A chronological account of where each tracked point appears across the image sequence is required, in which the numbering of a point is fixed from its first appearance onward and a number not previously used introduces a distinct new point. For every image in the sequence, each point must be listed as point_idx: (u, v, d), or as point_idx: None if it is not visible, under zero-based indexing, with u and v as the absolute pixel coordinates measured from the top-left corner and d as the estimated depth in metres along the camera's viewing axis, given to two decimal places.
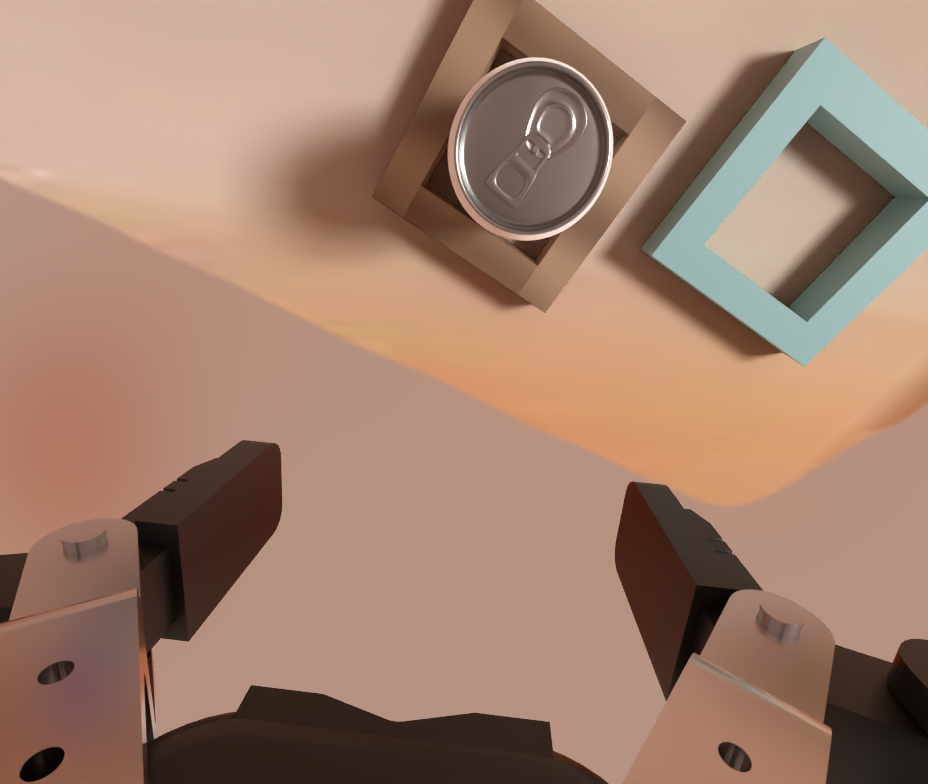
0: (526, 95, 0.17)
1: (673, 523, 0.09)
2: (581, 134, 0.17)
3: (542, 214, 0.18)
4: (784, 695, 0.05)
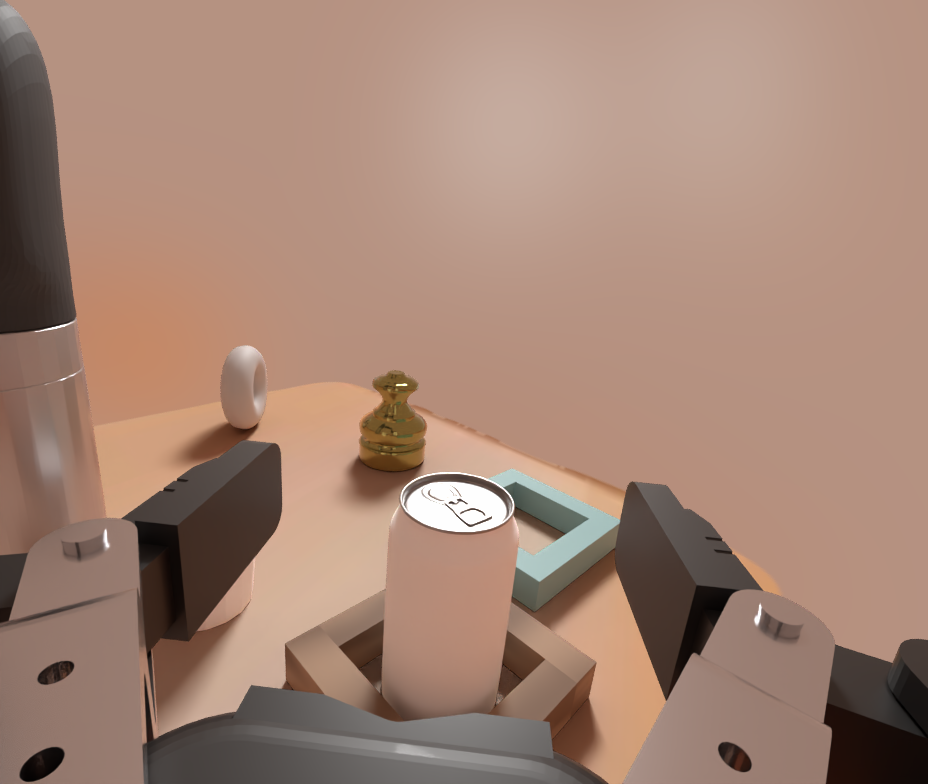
0: (418, 500, 0.24)
1: (673, 523, 0.09)
2: (452, 485, 0.25)
3: (500, 506, 0.24)
4: (784, 695, 0.05)
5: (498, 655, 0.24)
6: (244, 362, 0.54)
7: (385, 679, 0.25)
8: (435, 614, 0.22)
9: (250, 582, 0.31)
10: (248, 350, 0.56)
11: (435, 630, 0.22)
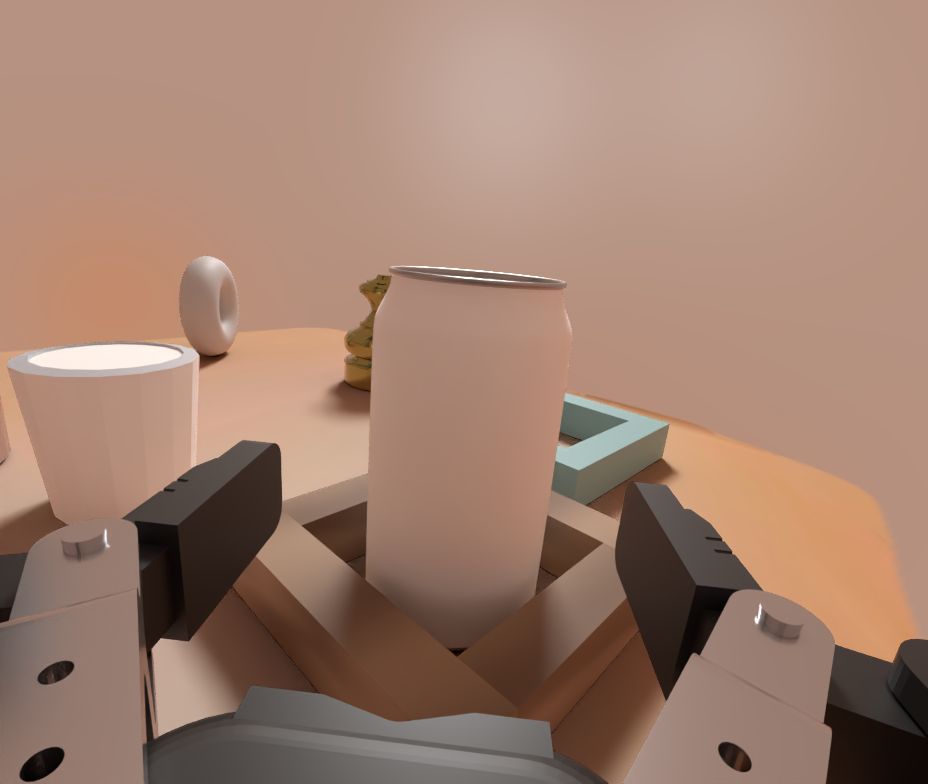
0: None
1: (673, 523, 0.09)
2: None
3: None
4: (784, 694, 0.05)
5: (541, 519, 0.16)
6: (208, 270, 0.46)
7: (370, 564, 0.17)
8: (447, 427, 0.13)
9: (188, 470, 0.23)
10: (213, 260, 0.47)
11: (448, 455, 0.14)
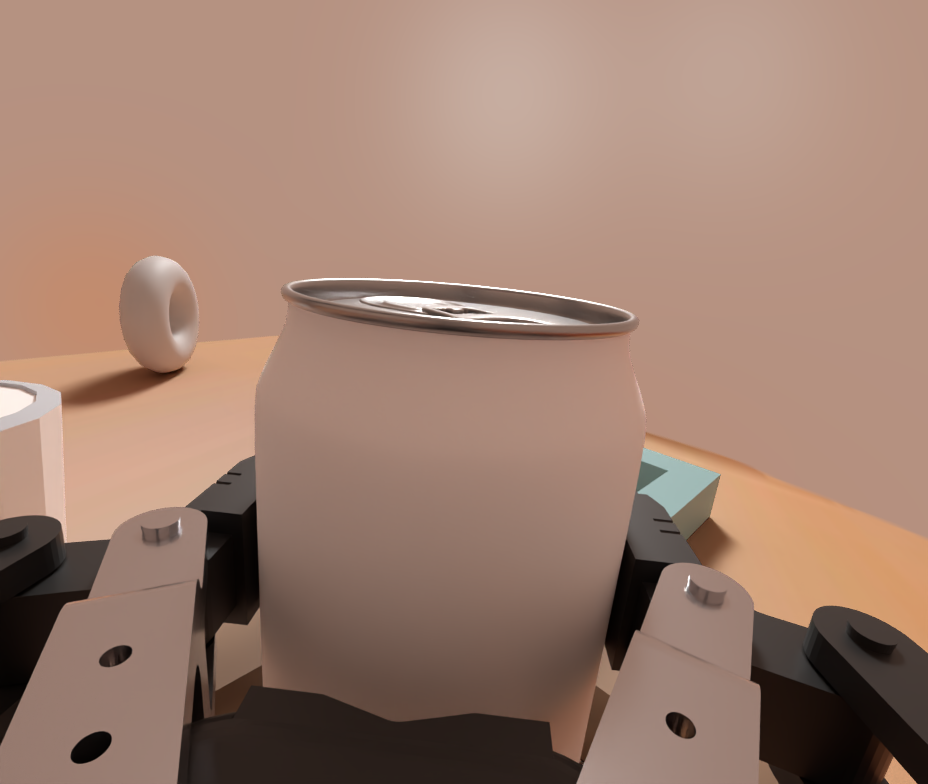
0: None
1: None
2: (448, 302, 0.10)
3: None
4: (695, 650, 0.06)
5: (579, 753, 0.09)
6: (154, 273, 0.38)
7: None
8: (387, 643, 0.06)
9: None
10: (163, 260, 0.40)
11: (391, 697, 0.06)
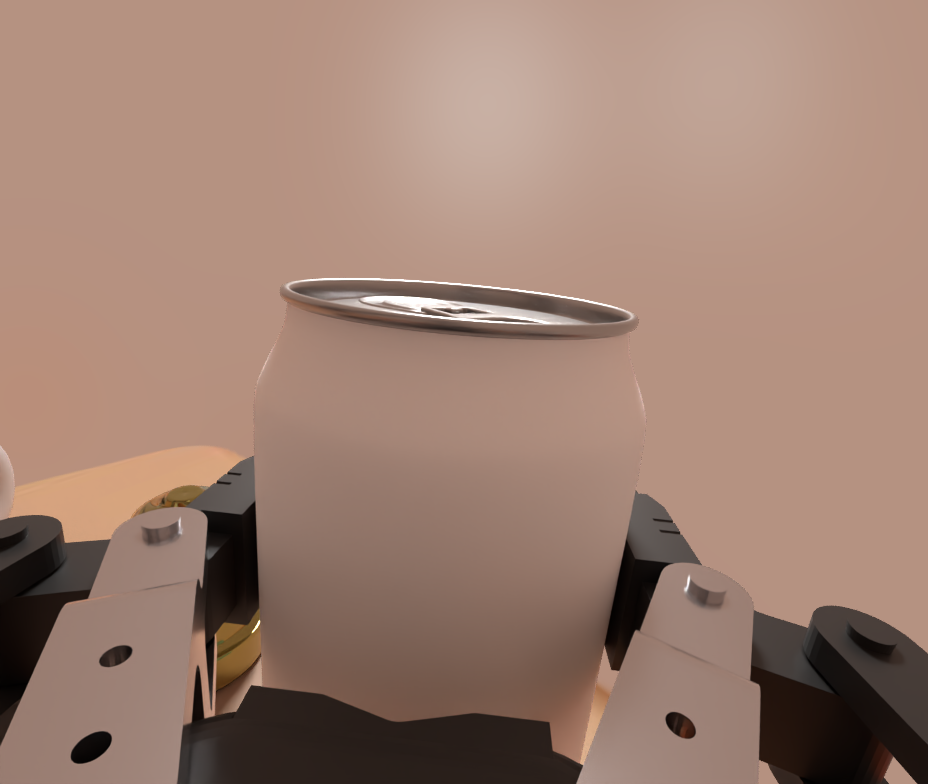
0: (348, 305, 0.08)
1: None
2: (447, 301, 0.10)
3: None
4: (694, 650, 0.06)
5: (579, 753, 0.09)
6: None
7: None
8: (387, 644, 0.06)
9: None
10: None
11: (390, 698, 0.06)
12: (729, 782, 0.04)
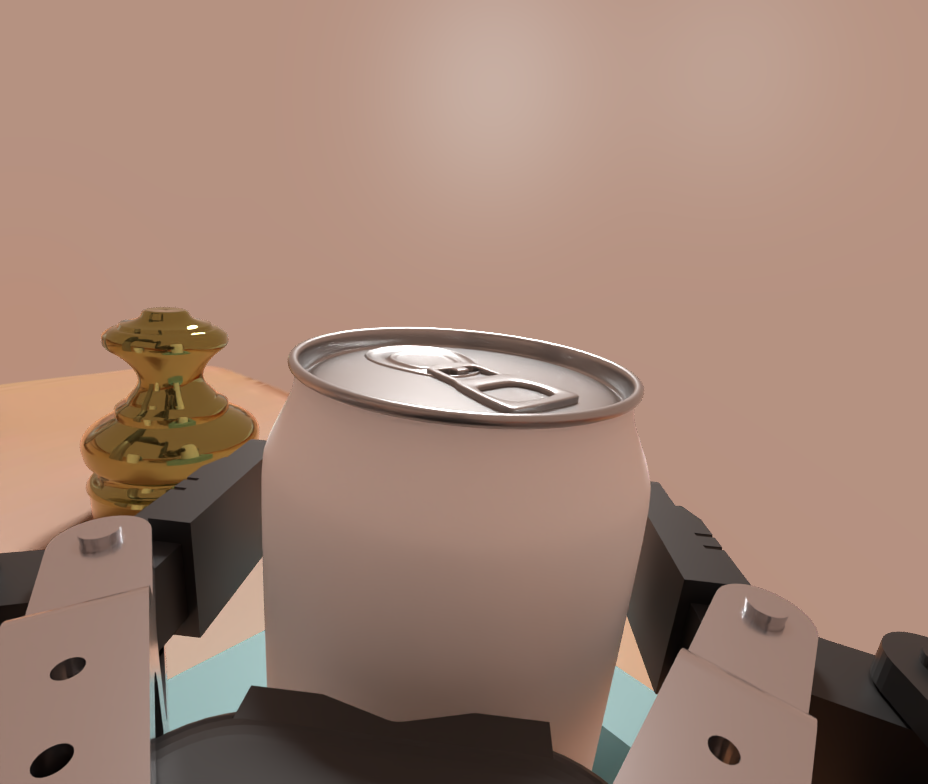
0: (355, 366, 0.08)
1: (663, 519, 0.09)
2: (453, 350, 0.10)
3: (589, 385, 0.08)
4: (766, 685, 0.05)
5: None
6: None
7: None
8: None
9: None
10: None
11: None
12: None
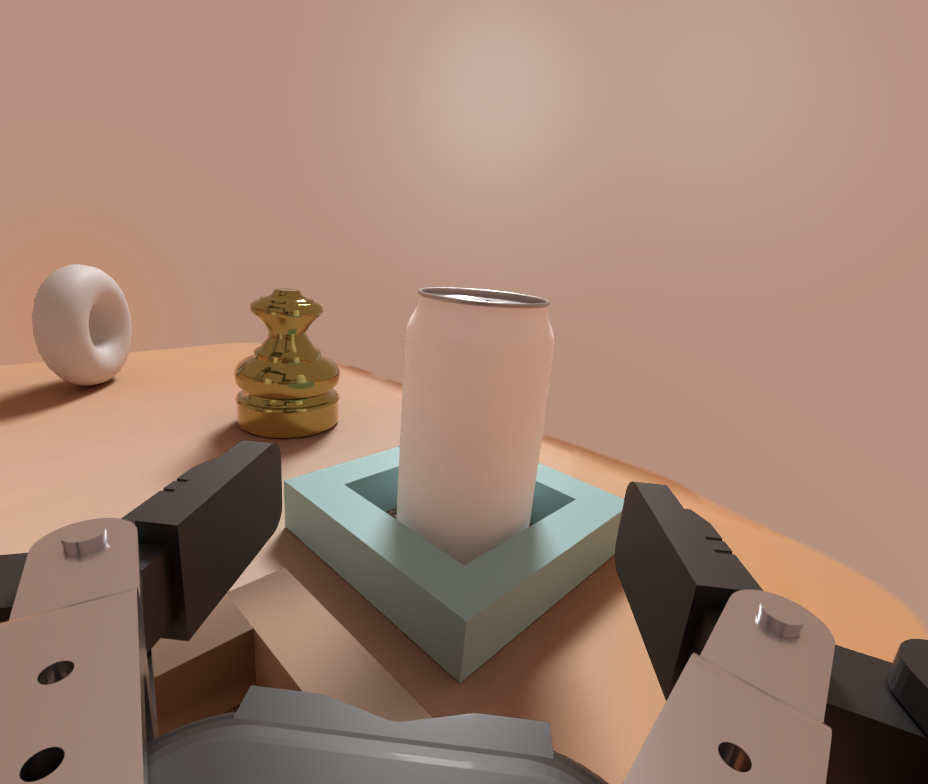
0: None
1: (673, 523, 0.09)
2: (476, 297, 0.22)
3: None
4: (783, 695, 0.05)
5: (531, 479, 0.21)
6: (71, 283, 0.37)
7: (401, 514, 0.22)
8: (461, 407, 0.19)
9: None
10: (84, 269, 0.38)
11: (462, 428, 0.19)
12: None
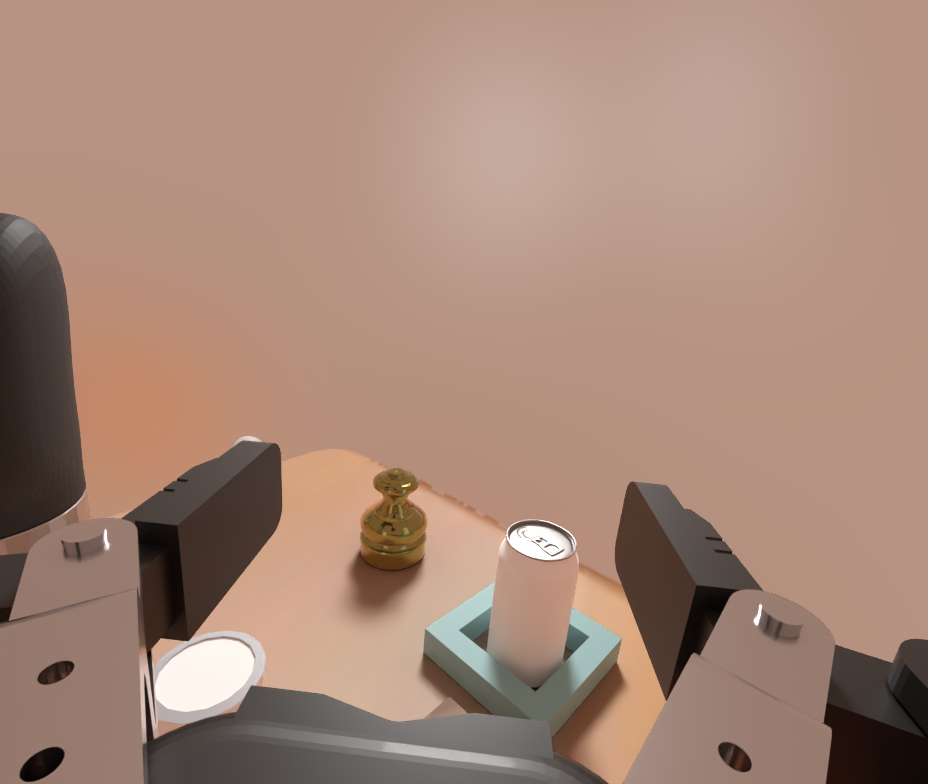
0: (517, 539, 0.39)
1: (673, 523, 0.09)
2: (534, 528, 0.40)
3: (566, 542, 0.39)
4: (784, 695, 0.05)
5: (565, 634, 0.39)
6: None
7: (494, 651, 0.40)
8: (533, 608, 0.37)
9: None
10: None
11: (532, 618, 0.37)
12: None
